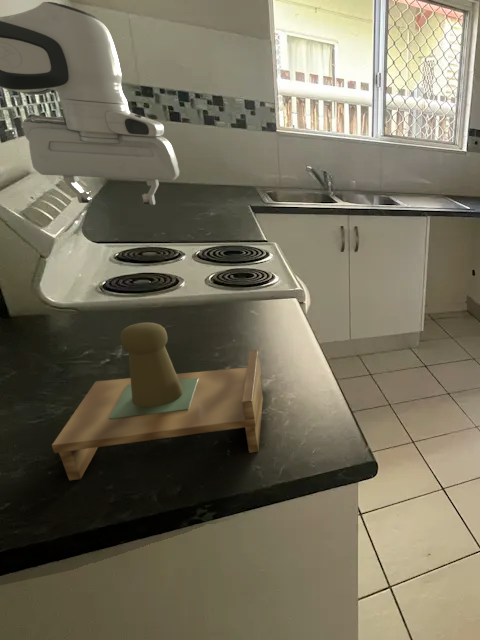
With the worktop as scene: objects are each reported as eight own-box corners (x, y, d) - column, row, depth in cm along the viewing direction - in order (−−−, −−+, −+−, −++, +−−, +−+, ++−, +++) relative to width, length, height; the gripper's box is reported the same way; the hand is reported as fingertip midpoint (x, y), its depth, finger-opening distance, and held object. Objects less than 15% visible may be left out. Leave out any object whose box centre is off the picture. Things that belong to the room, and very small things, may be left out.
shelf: (65, 483, 60) (43, 424, 56) (105, 414, 73) (90, 363, 69) (259, 453, 68) (251, 400, 65) (264, 396, 82) (258, 350, 78)
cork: (136, 388, 69) (117, 319, 65) (185, 382, 72) (170, 315, 68) (128, 410, 65) (108, 337, 60) (181, 402, 67) (165, 332, 63)
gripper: (9, 114, 74) (36, 204, 79) (166, 126, 82) (180, 208, 87) (27, 113, 79) (51, 198, 85) (173, 125, 87) (186, 202, 93)
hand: (118, 203), depth 86 cm, fingers open, 8 cm apart
